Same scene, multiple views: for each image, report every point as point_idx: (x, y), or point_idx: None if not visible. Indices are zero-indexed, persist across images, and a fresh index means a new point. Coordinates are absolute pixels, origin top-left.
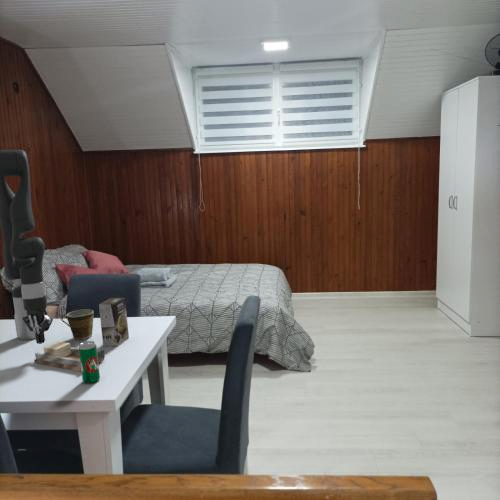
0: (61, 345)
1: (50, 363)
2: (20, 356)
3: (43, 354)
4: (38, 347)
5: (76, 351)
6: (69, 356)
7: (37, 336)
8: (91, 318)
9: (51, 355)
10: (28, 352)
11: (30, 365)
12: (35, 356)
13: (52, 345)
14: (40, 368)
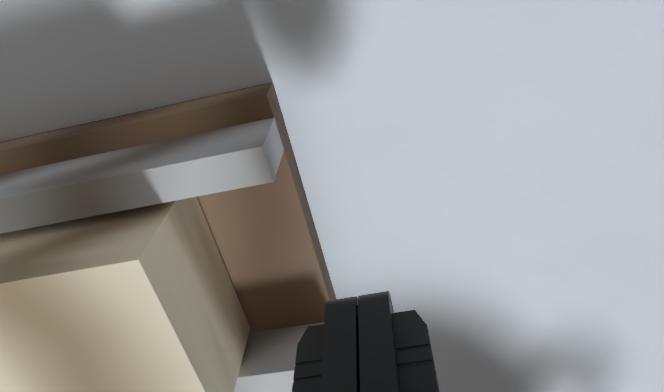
0: (32, 386)
1: (16, 146)
2: (640, 89)
3: (136, 188)
4: (659, 310)
5: None
6: None
7: (348, 388)
8: None
9: (20, 219)
10: (649, 197)
11: (230, 14)
12: (268, 131)
13: (120, 344)
14: (37, 36)
